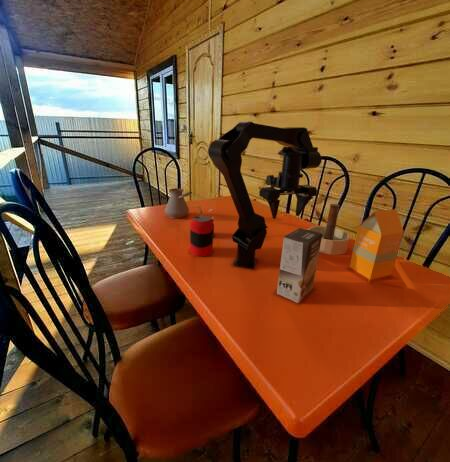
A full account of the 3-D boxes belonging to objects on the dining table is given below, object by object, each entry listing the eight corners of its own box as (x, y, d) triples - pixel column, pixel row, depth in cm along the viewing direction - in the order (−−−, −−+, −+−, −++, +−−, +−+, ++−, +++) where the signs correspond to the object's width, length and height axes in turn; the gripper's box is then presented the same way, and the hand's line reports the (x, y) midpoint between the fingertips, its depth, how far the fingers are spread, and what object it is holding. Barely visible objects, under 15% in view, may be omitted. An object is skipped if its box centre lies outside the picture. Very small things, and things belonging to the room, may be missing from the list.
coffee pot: (161, 214, 124) (159, 183, 119) (183, 211, 130) (182, 182, 125) (179, 228, 107) (179, 193, 102) (203, 223, 113) (204, 190, 108)
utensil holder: (210, 239, 97) (211, 209, 93) (195, 236, 99) (195, 207, 95) (216, 234, 102) (216, 205, 98) (201, 231, 104) (202, 203, 100)
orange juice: (348, 268, 79) (361, 207, 73) (369, 264, 82) (384, 205, 76) (369, 282, 72) (386, 215, 66) (391, 277, 75) (410, 213, 69)
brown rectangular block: (335, 249, 91) (343, 207, 85) (320, 247, 92) (327, 205, 87) (334, 244, 95) (342, 204, 90) (320, 241, 96) (327, 202, 91)
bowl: (349, 260, 85) (352, 243, 83) (305, 252, 89) (307, 237, 87) (344, 243, 98) (347, 229, 96) (306, 237, 102) (308, 223, 100)
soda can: (199, 245, 92) (199, 213, 88) (216, 250, 88) (217, 217, 84) (185, 252, 86) (185, 219, 82) (204, 259, 82) (204, 224, 78)
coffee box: (299, 304, 62) (308, 244, 57) (276, 293, 66) (282, 236, 60) (313, 288, 69) (323, 233, 63) (291, 279, 72) (298, 226, 67)
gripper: (299, 165, 90) (293, 208, 95) (252, 167, 83) (249, 212, 88) (321, 170, 80) (314, 217, 85) (271, 172, 73) (266, 223, 78)
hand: (285, 217), depth 84 cm, fingers open, 9 cm apart
